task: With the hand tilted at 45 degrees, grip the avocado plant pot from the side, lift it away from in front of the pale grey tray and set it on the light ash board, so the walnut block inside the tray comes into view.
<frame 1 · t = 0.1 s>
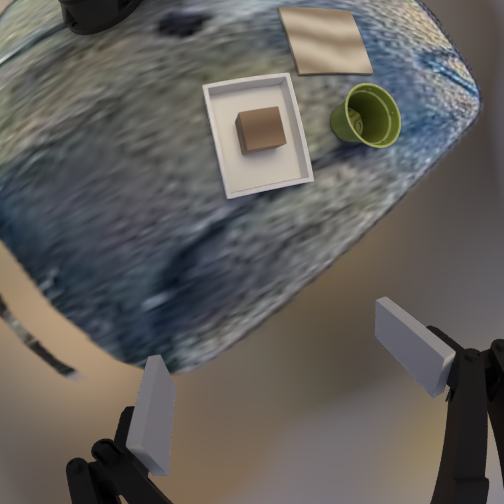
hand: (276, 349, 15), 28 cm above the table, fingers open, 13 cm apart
grey tray: (254, 136, 38), on the table
plant pot: (346, 124, 40), on the table
ash board: (325, 40, 35), on the table
walnut block: (255, 135, 37), point 1 cm above the table, touching grey tray
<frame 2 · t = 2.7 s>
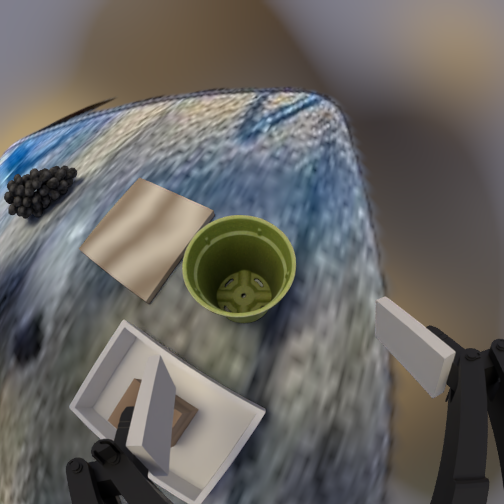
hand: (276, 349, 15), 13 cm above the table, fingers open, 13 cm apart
grey tray: (169, 413, 24), on the table
plant pot: (244, 297, 31), on the table
fruit: (51, 202, 40), on the table
ash board: (143, 234, 35), on the table
walnut block: (165, 414, 24), point 1 cm above the table, touching grey tray
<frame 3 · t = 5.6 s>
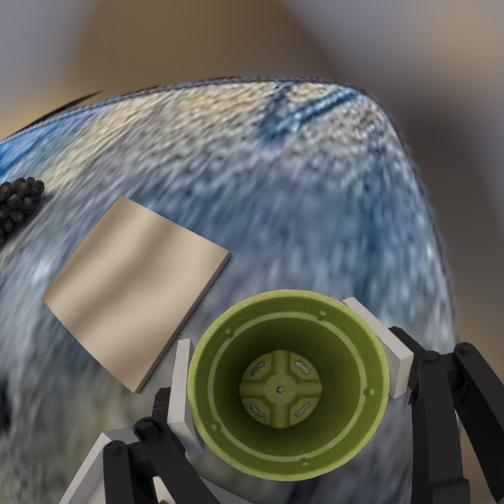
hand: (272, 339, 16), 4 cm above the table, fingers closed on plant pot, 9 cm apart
plant pot: (280, 388, 19), on the table, touching gripper
fruit: (17, 224, 28), on the table
ash board: (125, 282, 23), on the table
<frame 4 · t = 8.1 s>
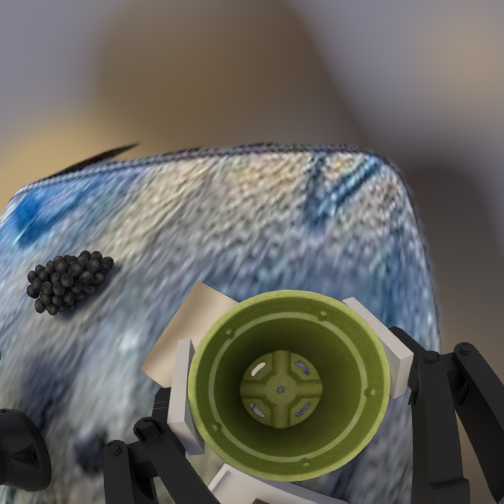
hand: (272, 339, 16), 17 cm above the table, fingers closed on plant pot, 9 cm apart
plant pot: (281, 388, 19), point 12 cm above the table, touching gripper
fruit: (84, 290, 37), on the table
ash board: (215, 355, 32), on the table
when the fingers open (7 cm above the table, at t = 11.0 s): plant pot drops 1 cm, resting on ash board.
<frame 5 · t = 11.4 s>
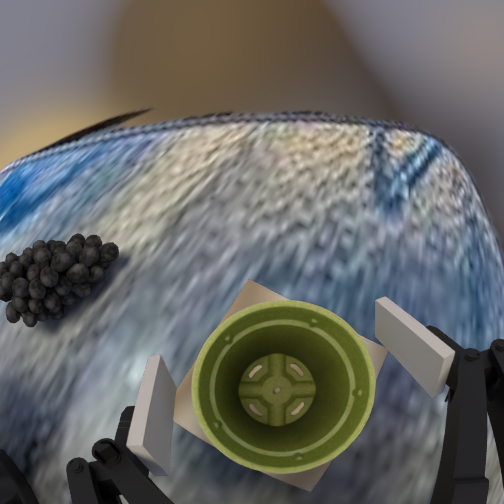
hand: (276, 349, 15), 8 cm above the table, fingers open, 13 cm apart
plant pot: (277, 389, 20), point 1 cm above the table, touching ash board
fruit: (75, 291, 26), on the table
ash board: (279, 388, 21), on the table
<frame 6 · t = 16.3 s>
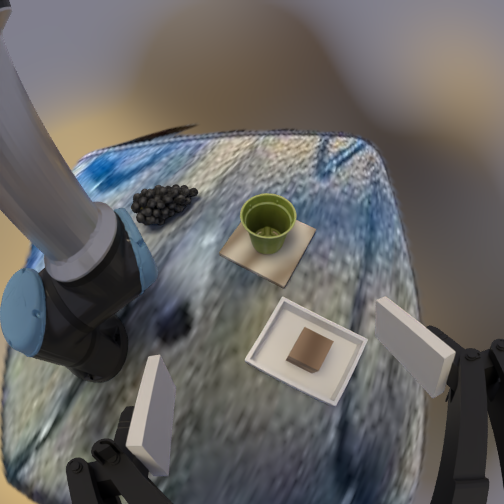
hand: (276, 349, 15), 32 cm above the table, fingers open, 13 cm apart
grey tray: (304, 354, 45), on the table
plant pot: (267, 241, 54), point 1 cm above the table, touching ash board
fruit: (170, 213, 60), on the table
ash board: (268, 243, 55), on the table
walnut block: (305, 354, 44), point 1 cm above the table, touching grey tray
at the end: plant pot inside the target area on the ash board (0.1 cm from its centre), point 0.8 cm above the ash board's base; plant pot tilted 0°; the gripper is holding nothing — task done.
